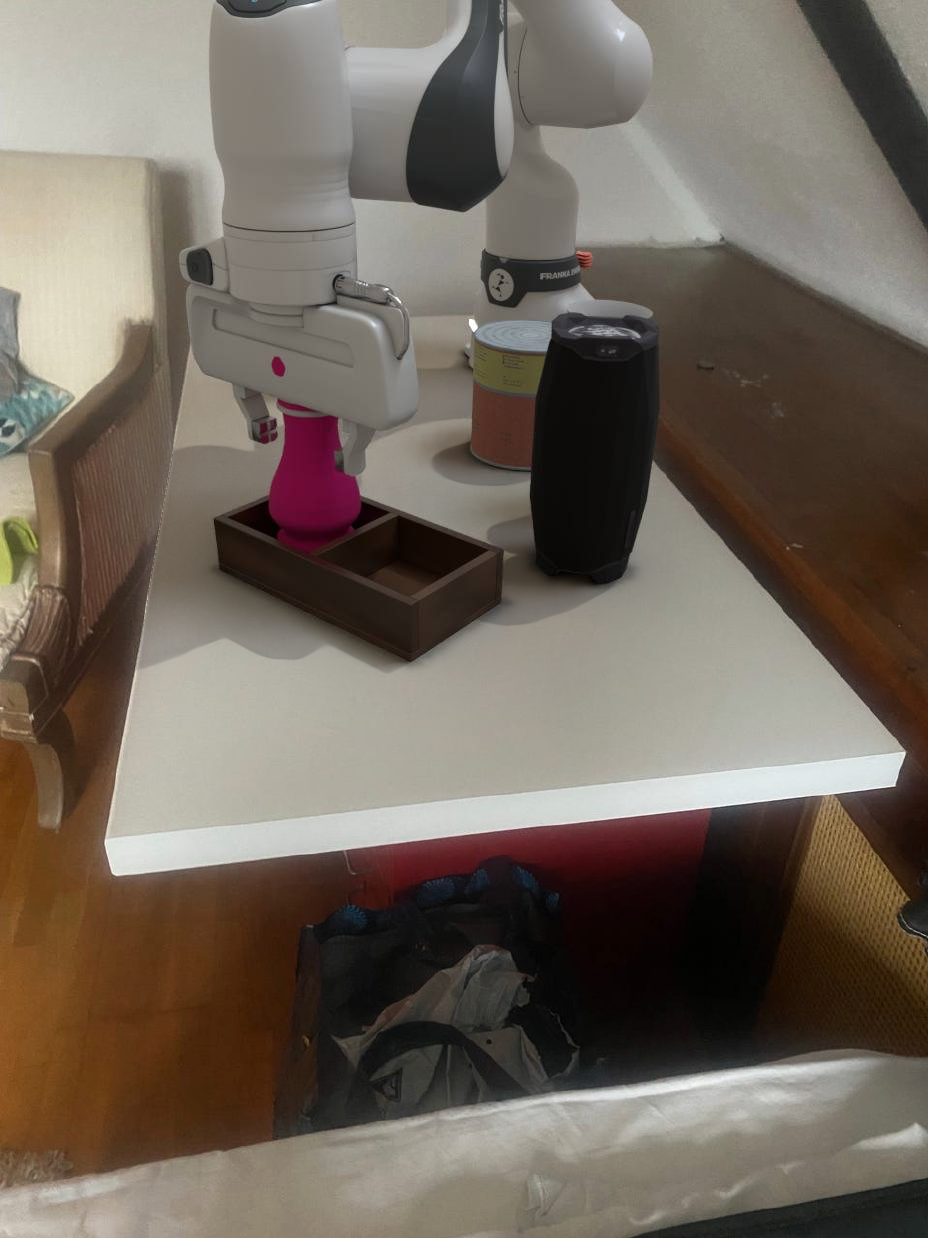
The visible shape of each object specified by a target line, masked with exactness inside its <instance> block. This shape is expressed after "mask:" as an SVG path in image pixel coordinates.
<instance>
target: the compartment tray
mask: <svg viewBox="0 0 928 1238" xmlns="http://www.w3.org/2000/svg"><path fill="white" fill-rule="evenodd" d="M360 499H361V510H360V513H359V515H358V517H357V518H356V520H355V521H354V522H353V523H352V524H351V526H352V527H353V529H354V531H352V532H350V533H348V534H346V535H344V536H342V537H340V538H337V539H335V540H333V541H331V542H329V543H327V544H325V545H323V546H321V547H319V548H317V549H315V550H313V551H311V552H309V553H307V552H305V551H302V550H300V549H298V548H296V547H293V546H291V545H289V544H286V543H284V542H282V541H280V540H277V534H278V532H279V530H280V529H281V527H280V526H279V525H278V524H277V523H276V522H275V521H274V520H273V518H272V516H271V514H270V511H269V494H267V495H264V496H263V497H260V498H257V499H255V500H252V501H250V502H247V503H244V504H243V505H239V506H238V507H236V508H233V509H231V510H228V511H226V512H223V513H221V514H218V515H217V516H214V517H212V521H213V530H214V536H215V544H216V545H215V546H216V551H217V560H218V561H217V562H218V567H219V570H220V571H222V572H224V573H227V574H228V575H231V576H232V577H235V578H237V579H239V580H240V581H243V582H245V583H247V584H250V585H251V586H254V587H255V588H258V589H259V590H261V591H263V592H266V593H268V594H270V595H272V596H275V598H279V599H280V600H282V601H284V602H286V603H289V604H291V605H293V606H294V607H297V608H299V609H301V610H303V611H305V612H307V613H310V614H312V615H314V616H315V617H318V618H320V619H322V620H324V621H326V622H328V623H330V624H332V625H334V626H336V627H338V628H340V629H342V630H345V631H346V632H349V633H351V634H352V635H355V636H356V637H359V638H361V639H363V640H366V641H368V642H369V643H372V644H373V645H375V646H377V647H380V648H382V649H384V650H386V651H388V652H389V653H392V654H394V655H396V656H399V657H401V658H403V659H404V660H407V661H409V662H412V661H414V660H415V659H417V658H419V657H420V656H421V655H423V654H424V653H426V652H428V651H429V650H430V649H433V648H434V647H435V646H437V645H438V644H440V643H442V642H443V641H445V640H446V639H447V638H449V637H451V636H452V635H454V634H455V633H457V632H458V631H460V630H461V629H463V628H464V627H466V626H467V625H468V624H470V623H472V622H474V621H475V620H476V619H478V618H479V617H481V616H482V615H484V614H486V613H487V612H488V611H490V610H491V609H493V608H495V607H496V606H497V605H499V604H501V603H502V596H503V595H502V593H503V575H504V558H505V557H504V556H505V555H504V553H505V549H504V548H501V547H500V546H499V547H498V546H496V545H493V544H491V543H489V542H486V541H483V540H480V539H478V538H475V537H473V536H469V535H466V534H465V533H462V532H459V531H456V530H454V529H451V528H448V527H445V526H443V525H440V524H438V523H435V522H433V521H429V520H427V519H425V518H422V517H419V516H416V515H414V514H411V513H408V512H406V511H403V510H400V509H398V508H395V507H393V506H390V505H387V504H385V503H382V502H378V501H377V500H373V499H371V498H369V497H366V496H363V495H361V494H360Z"/></svg>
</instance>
